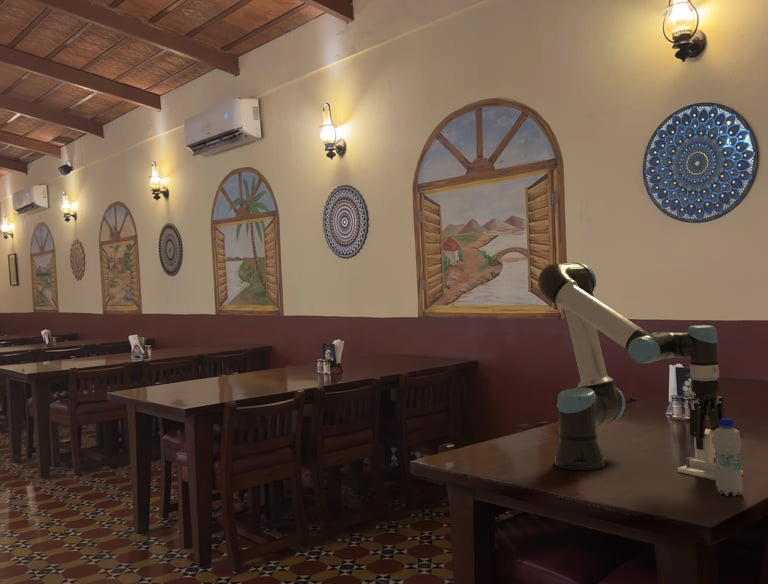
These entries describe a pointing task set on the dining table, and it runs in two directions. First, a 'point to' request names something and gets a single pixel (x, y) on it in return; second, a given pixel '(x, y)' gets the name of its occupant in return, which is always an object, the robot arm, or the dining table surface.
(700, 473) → the rail board
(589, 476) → the dining table surface
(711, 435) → the block
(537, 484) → the dining table surface
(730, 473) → the bottle
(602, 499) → the dining table surface
